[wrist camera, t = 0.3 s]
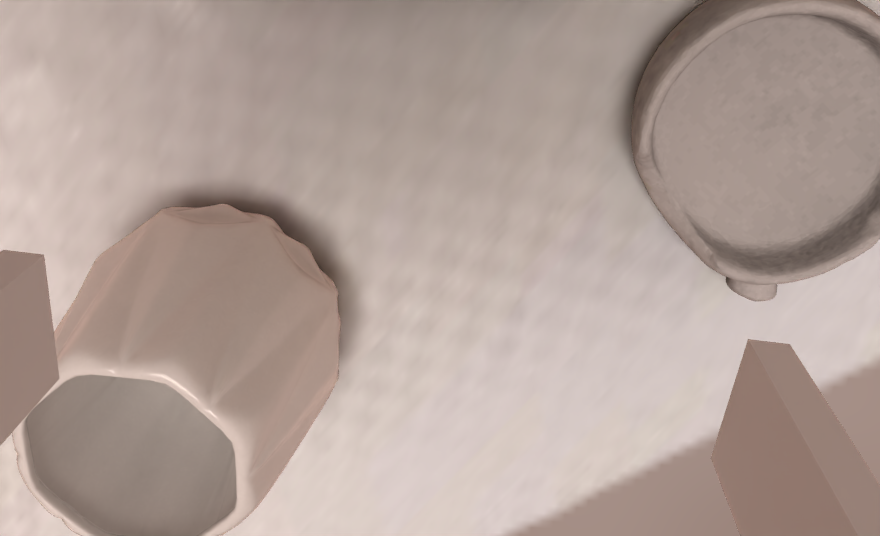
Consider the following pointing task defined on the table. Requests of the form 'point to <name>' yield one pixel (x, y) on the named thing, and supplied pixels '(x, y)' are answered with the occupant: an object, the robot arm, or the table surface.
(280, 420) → the vase
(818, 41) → the dish
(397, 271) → the table surface
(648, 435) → the table surface
